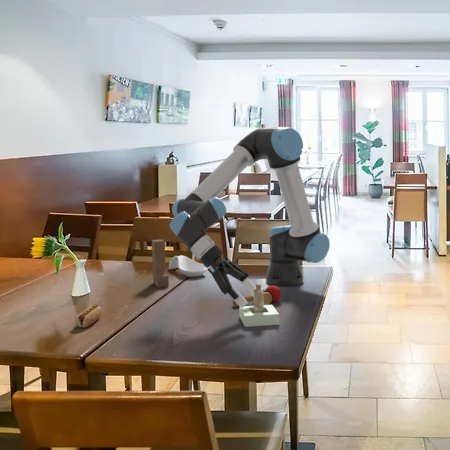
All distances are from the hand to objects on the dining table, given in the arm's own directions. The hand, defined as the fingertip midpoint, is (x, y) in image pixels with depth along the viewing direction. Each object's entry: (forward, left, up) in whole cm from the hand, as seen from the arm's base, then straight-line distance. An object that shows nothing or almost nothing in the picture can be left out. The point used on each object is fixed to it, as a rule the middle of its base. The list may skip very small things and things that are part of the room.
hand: (251, 300), depth 199 cm
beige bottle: (-2, +1, -7) cm, 7 cm away
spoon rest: (+16, -74, -7) cm, 76 cm away
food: (+52, -8, -7) cm, 53 cm away
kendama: (-5, -19, -7) cm, 21 cm away
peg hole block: (-2, -2, -7) cm, 7 cm away
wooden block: (+28, -54, -7) cm, 61 cm away
